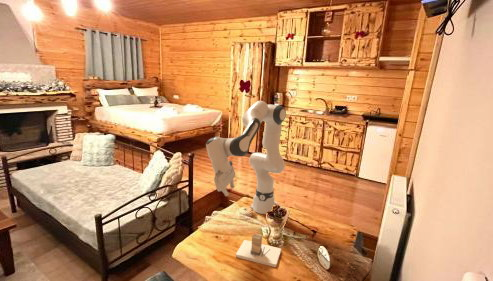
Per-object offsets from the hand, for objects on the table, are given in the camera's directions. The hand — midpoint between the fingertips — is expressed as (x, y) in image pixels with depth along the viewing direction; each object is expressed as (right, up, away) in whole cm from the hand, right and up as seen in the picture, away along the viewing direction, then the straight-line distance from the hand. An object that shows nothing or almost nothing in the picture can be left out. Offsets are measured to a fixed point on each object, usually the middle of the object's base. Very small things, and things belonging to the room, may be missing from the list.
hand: (230, 191), depth 136 cm
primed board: (+15, -30, -8) cm, 34 cm away
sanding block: (+14, -28, -9) cm, 32 cm away
